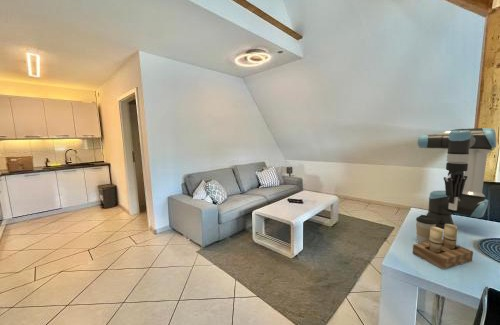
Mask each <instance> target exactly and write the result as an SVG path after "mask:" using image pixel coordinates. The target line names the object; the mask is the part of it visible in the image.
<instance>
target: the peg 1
mask: <svg viewBox="0 0 500 325" xmlns="http://www.w3.org/2000/svg"><path fill="white" fill-rule="evenodd" d="M443 236H444V229H441V228H438V227H430V238H429V247H430V251H432V252H434V253H436V254H439V253H440V250H442V239H443Z"/></svg>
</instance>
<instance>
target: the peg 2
mask: <svg viewBox="0 0 500 325" xmlns="http://www.w3.org/2000/svg"><path fill="white" fill-rule="evenodd" d="M458 229H459V228H458V225H455V224H454V225H452V224H445V226H444V229H443V244H444V247H446V248H448V249H450V250H454V248H455V246H456V245H457V241H458V240H457V237H458Z"/></svg>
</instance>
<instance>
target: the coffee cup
mask: <svg viewBox="0 0 500 325" xmlns="http://www.w3.org/2000/svg"><path fill="white" fill-rule="evenodd" d="M426 215H427V214H420V215H419V216H417V217H416V219H415V221H416V225H415V227H416V228H415V229H416V241H417V242H418V243H423V242H427V241H429V238H430V227H435V226H436V224H437V223H436V220H434V218H432V217H429V216H426Z"/></svg>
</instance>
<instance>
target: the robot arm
mask: <svg viewBox="0 0 500 325" xmlns="http://www.w3.org/2000/svg"><path fill="white" fill-rule="evenodd" d="M417 147H418V148H419V149H441V150H442V149H447V155H446V163H445V164H446V165H445V170H446V171H448V173H447V176H444V177H443V181H444V188H445V190H432V191H431V192H430V193H429V197H428V209H427V210H428V211H427V213H426V214H425V215H426V216H429V217H432V218H434V220H436V223H437V224H436V226H435V227H438V228H441V229H443V230H444V226H445V224H452V225H455V223H454V219H453V216H452V213H453V214H458V215H461V216H468V217H471V218H472V217H473V218H482V217H484V215H485V213H486V211H487V208H488V205H489V199H486V195H485V194H484V193H483V188H484V182H485V181H484V180H485V174H486V166H487V161H488V160H487V159H488V154H489V153H491V152H492V151H493V150H492V149H495V148H497V134H496V131H495V129H494V128H493V127H492V128H490V127H479V128H456V129H451V130H445V131H443V132H441V133H434V134H421V135H419V136H418V139H417Z"/></svg>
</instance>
